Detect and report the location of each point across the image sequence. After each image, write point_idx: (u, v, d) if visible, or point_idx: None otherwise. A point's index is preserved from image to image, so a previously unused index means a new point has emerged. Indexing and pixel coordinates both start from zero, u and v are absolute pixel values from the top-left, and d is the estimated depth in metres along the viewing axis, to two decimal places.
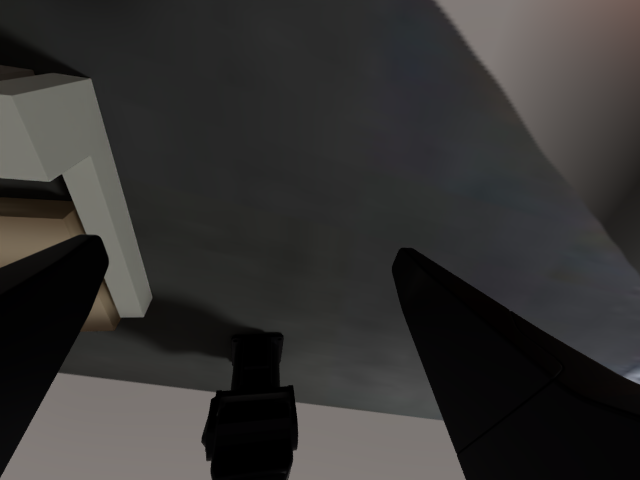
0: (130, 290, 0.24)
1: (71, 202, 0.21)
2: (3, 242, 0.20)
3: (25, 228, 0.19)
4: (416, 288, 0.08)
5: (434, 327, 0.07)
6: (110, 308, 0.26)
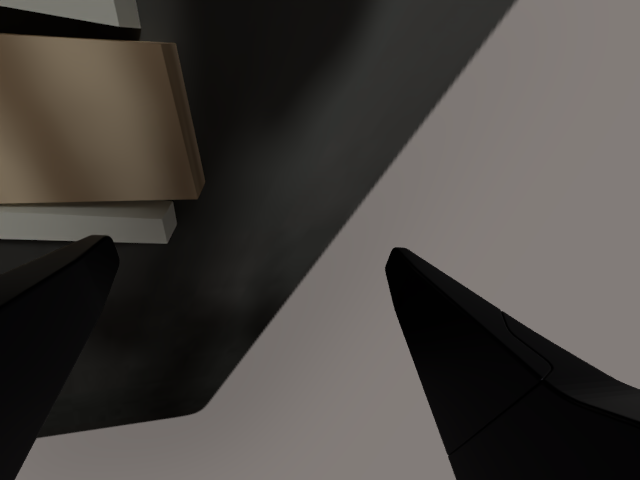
0: None
1: None
2: None
3: None
4: (408, 288, 0.08)
5: (426, 327, 0.07)
6: (107, 40, 0.13)
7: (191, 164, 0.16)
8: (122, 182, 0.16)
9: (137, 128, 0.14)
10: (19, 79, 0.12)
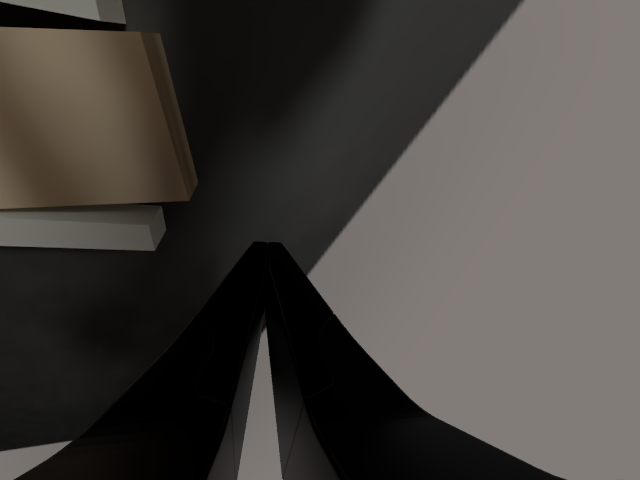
0: None
1: None
2: None
3: None
4: (267, 287, 0.07)
5: (272, 332, 0.06)
6: None
7: (181, 164, 0.15)
8: (108, 184, 0.15)
9: (120, 126, 0.13)
10: None
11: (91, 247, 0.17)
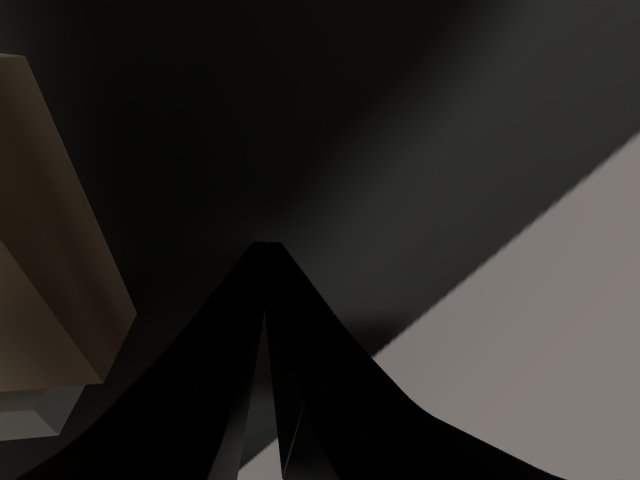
0: None
1: None
2: None
3: None
4: (267, 287, 0.07)
5: (272, 332, 0.06)
6: None
7: (81, 328, 0.07)
8: None
9: None
10: None
11: None
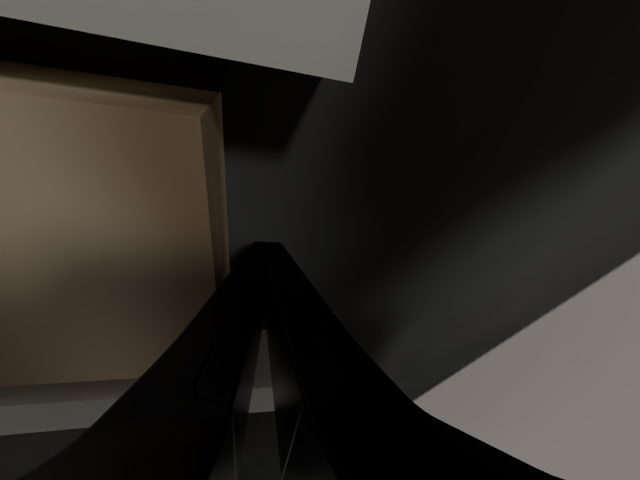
0: None
1: None
2: None
3: None
4: (267, 287, 0.07)
5: (272, 332, 0.06)
6: (44, 86, 0.04)
7: None
8: (71, 359, 0.07)
9: (114, 281, 0.06)
10: None
11: None
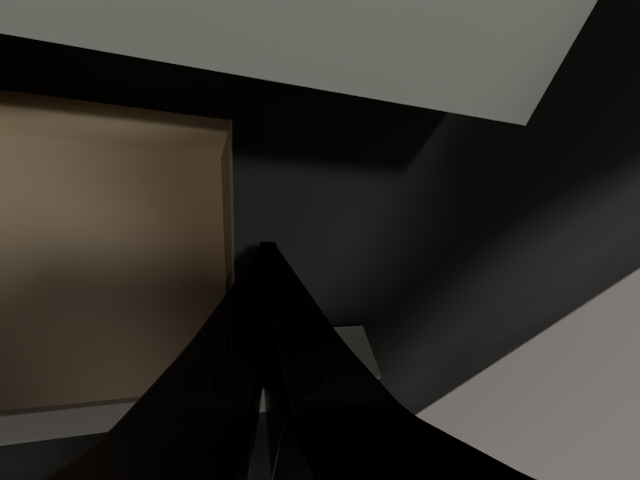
0: None
1: None
2: None
3: None
4: None
5: None
6: (69, 128, 0.05)
7: None
8: (81, 381, 0.08)
9: (128, 306, 0.06)
10: None
11: None
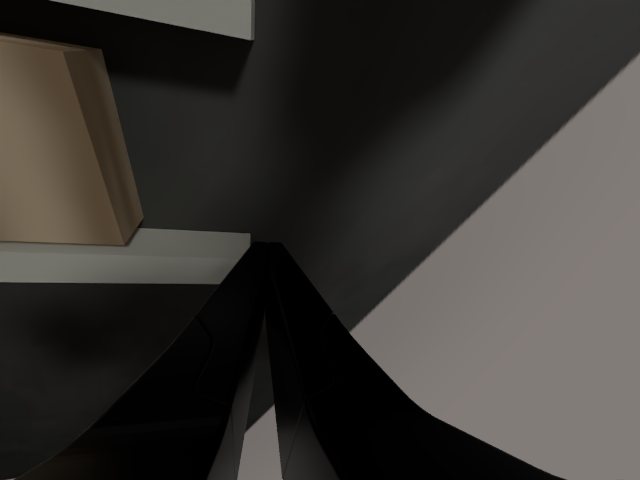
0: None
1: None
2: None
3: None
4: (267, 287, 0.07)
5: (272, 332, 0.06)
6: None
7: (116, 204, 0.12)
8: (16, 219, 0.12)
9: (34, 156, 0.10)
10: None
11: (181, 282, 0.16)
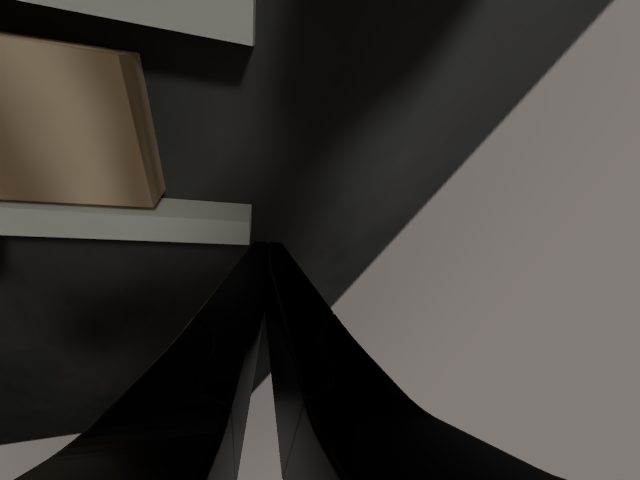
0: None
1: None
2: None
3: None
4: (267, 287, 0.07)
5: (272, 332, 0.06)
6: (63, 44, 0.12)
7: (148, 173, 0.16)
8: (73, 185, 0.15)
9: (91, 134, 0.14)
10: None
11: (195, 241, 0.19)
